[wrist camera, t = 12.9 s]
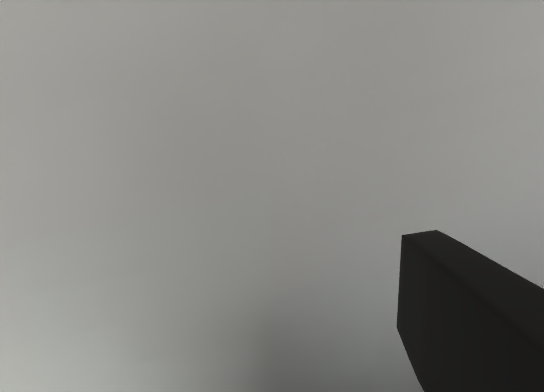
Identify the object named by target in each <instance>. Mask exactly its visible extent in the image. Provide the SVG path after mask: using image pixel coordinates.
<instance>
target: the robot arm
mask: <svg viewBox="0 0 544 392" xmlns="http://www.w3.org/2000/svg"><path fill="white" fill-rule="evenodd" d="M397 329H398V332H399V334H400V337H401V339H402V342H403V345H404V347H405V350H406V352H407V355H408V357H409V360H410V362H411V364H412V367H413V369H414V372H415V374H416V376H417V379H418V381H419V383H420V385H421V386H422V388H423V390H424V392H544V289H543V288H541V287H539V286H537V285H535V284H534V283H532V282H530V281H528V280H526V279H525V278H523V277H521V276H519V275H517V274H516V273H514V272H512V271H510V270H508V269H507V268H505V267H503V266H501V265H500V264H498V263H496V262H494V261H493V260H491V259H489V258H487V257H486V256H484V255H482V254H480V253H479V252H477V251H475V250H473V249H471V248H470V247H468V246H466V245H464V244H462V243H461V242H459V241H457V240H455V239H453V238H451V237H450V236H448V235H446V234H444V233H442V232H440V231H437V230H433V231H426V232H420V233H414V234H407V235H402V242H401V260H400V278H399V295H398V313H397Z"/></svg>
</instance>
